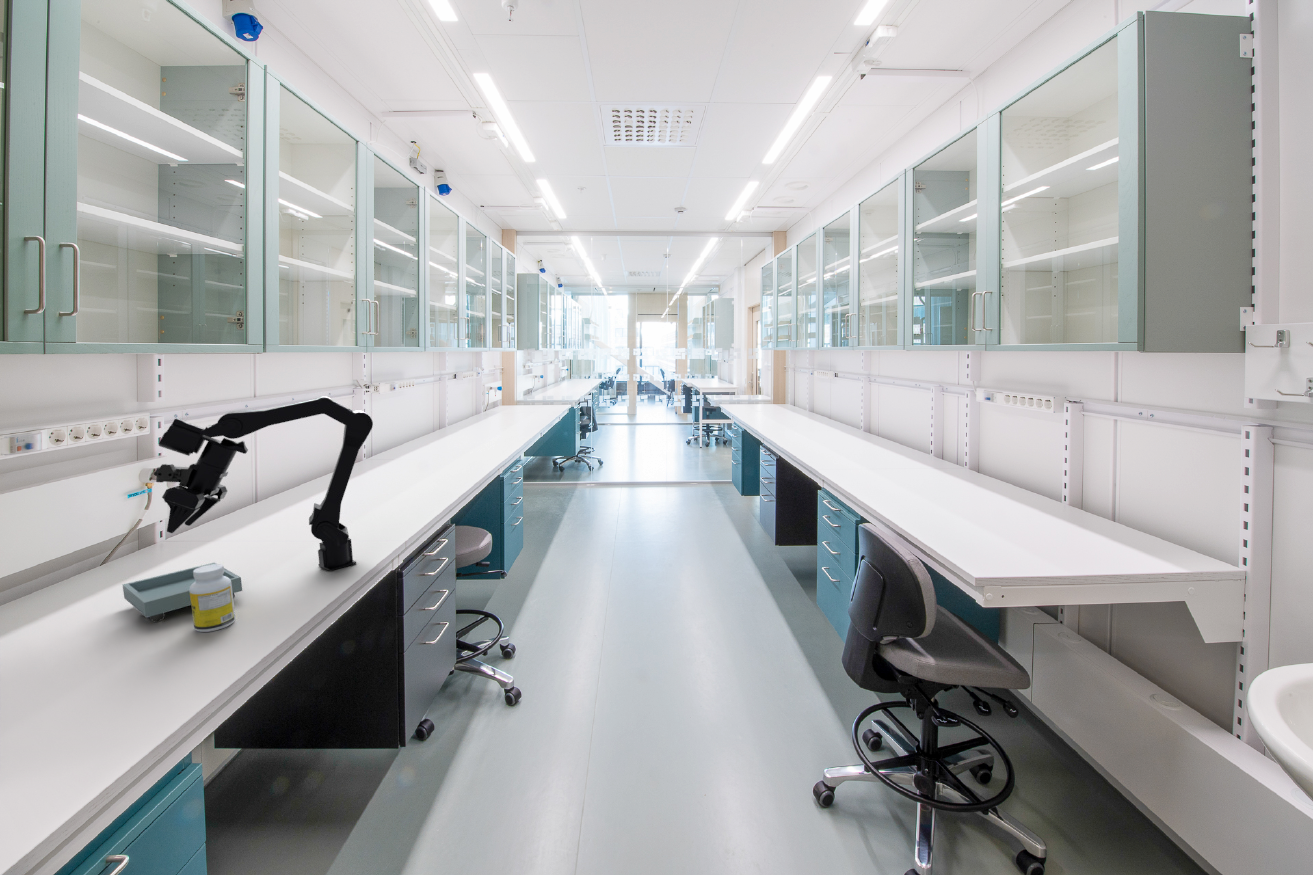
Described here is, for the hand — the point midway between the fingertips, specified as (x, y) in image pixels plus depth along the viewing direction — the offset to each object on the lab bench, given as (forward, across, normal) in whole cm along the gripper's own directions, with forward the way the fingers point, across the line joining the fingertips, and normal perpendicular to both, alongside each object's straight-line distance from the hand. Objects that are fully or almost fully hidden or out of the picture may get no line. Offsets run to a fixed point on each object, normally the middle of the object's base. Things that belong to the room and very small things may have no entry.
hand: (178, 528), depth 130 cm
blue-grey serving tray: (+12, +7, +9) cm, 17 cm away
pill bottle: (+9, +22, +19) cm, 30 cm away
